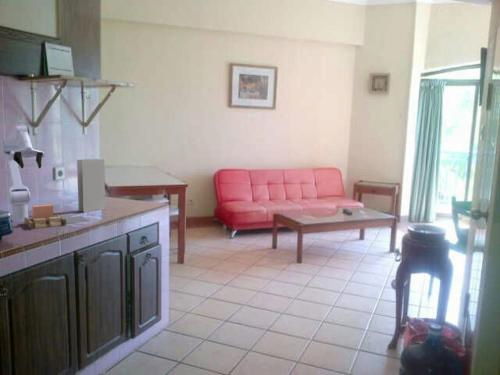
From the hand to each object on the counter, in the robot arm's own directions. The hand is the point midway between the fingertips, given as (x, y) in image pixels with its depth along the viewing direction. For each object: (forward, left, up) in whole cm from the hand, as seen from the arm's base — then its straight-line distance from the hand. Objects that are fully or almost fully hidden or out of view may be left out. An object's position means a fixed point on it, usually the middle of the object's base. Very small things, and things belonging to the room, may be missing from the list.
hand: (31, 167), depth 211 cm
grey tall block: (-35, +39, -31) cm, 61 cm away
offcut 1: (-5, +4, -30) cm, 31 cm away
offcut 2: (-5, +11, -30) cm, 33 cm away
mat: (-13, +22, -31) cm, 40 cm away
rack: (-10, +7, -31) cm, 33 cm away
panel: (-13, +7, -30) cm, 34 cm away
